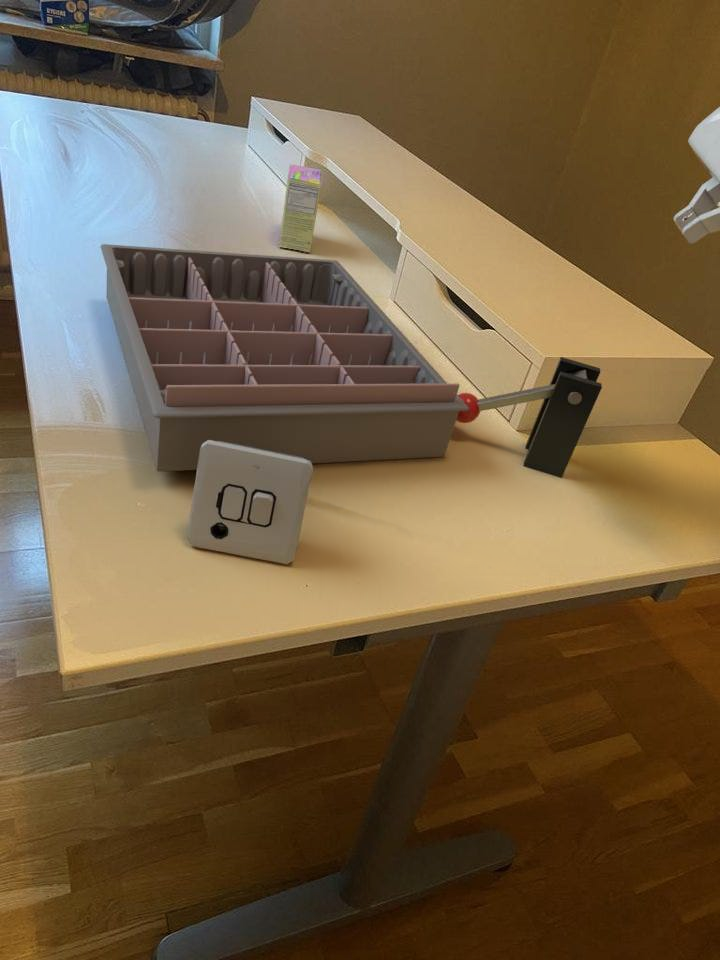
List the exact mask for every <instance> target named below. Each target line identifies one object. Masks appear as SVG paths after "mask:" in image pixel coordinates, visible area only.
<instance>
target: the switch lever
mask: <svg viewBox="0 0 720 960" xmlns="http://www.w3.org/2000/svg"><path fill="white" fill-rule="evenodd" d="M568 374H571V375H574V376H578V377H581V378H585V379H588V378H587V373H586V370H582V371H577V372H572V373H568ZM554 386H555V384H553V385H550V384H548V385H544V386H538V387H533V388H528V389H524V390H519V391H513V392H509V393H508V392H507V393H504V394H499V395H493V396H489V397H484V398H479V399H478V397H477V396H476V395H474V394H473V393H470V392H461V393H458V394H457V395H458V396H459V397H460V398H461V399H462V400H463V402H464V403H465V404H466V405H467V406H468V407H469V410H468V411H459V414H458V417H457V420H456V422H458V423H462V424H470V423H472V422H474V421H476V420H477V419H478V417H479V416H480V413H481V412H483V411H488V410H489V411H490V410H493V409H499V408H504V407H509V406H514V405H519V404H523V403H528V402H534V401H539V400H544V399H545V398H550V396H551V393H552V391H553V389H554Z"/></svg>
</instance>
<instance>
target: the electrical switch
mask: <svg viewBox="0 0 720 960" xmlns="http://www.w3.org/2000/svg"><path fill="white" fill-rule="evenodd" d="M313 473H314V466H313V463H311V461H309V460H306V459H304V458H303V457H298V456H293V455H288V454H283V453H278V452H273V451H268V450H263V449H258V448H253V447H248V446H243V445H238V444H233V443H228V442H223V441H219V440H218V441H212V440H208V441H206V442H204V443H203V444H202V446H201V448H200V453H199V460H198V466H197V470H196V473H195V478H194V479H195V480H194V486H193V492H192V493H193V494H192V500H191V507H190V513H189V521H188V526H187V527H188V528H187V532H186V541H187V543H188V544H189V545H190V546H191V547H195V548H198V549H199V548H200V549H203V550H204V549H206V550H211V551H215V552H219V553H220V552H221V553H227V554H231V555H237V556H242V557H248V558H252V559H258V560H264V561H269V562H274V563H279V564H285V565H287V564H290V563H292V562H293V561H294V560H295V558H296V554H297V552H298V545H299V541H300V534H301V531H302V525H303V521H304V516H305V515H304V514H305V509H306V504H307V499H308V494H309V489H310V485H311V481H312V477H313Z"/></svg>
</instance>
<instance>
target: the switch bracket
mask: <svg viewBox="0 0 720 960" xmlns="http://www.w3.org/2000/svg"><path fill="white" fill-rule="evenodd" d="M582 370H586V373H587V378H588V379H585V378H581V377H578V376H574V375H571V374H568V373H572V372H577V371H582ZM600 374H601V368H600V367H598V366H593V365H590V364H588V363H584V362H580V361H576V360H573V359H569V358H566V357H563V356H561V357H560V358H559V360H558V363H557V365H556V368H555V369H554V373H553V375H552V377H551V380H550V382H549V385H553V384H555V386H554V389H553V391H552V393H551V396H550V398H545V399H542V402H541V405H540V408H539V410H538V413H537V415H536V418H535V421H534V423H533V425H532V428H531V430H530V433H529V436H528V438H527V440H526V443H525V446H524V447H525V448H524V449H525V450H527V453H526V456H525V458H524V460H523V467H525V468H527V469H531V470H534V471H538V472H541V473H544V474H547V475H551V476H554V477H557V478H561V479H562V478H563V476H564V474H565V471H566V469H567V467H568V465H569V462H570V460H571V458H572V455H573V454H574V451H575V449H576V447H577V445H578V442H579V440H580V437H581V436H582V433H583V431H584V429H585V427H586V425H587V422H588V420H589V418H590V416H591V413H592V411H593V408H594V406H595V404H596V402H597V399H598V397H599V395H600V393H601V391H602V390H603V389H602V388H603V384H602V383H601V382H599V381H598V379H599V376H600Z"/></svg>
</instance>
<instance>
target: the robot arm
mask: <svg viewBox="0 0 720 960" xmlns="http://www.w3.org/2000/svg"><path fill="white" fill-rule="evenodd" d="M687 142H688V145H689V146H690V148H691V150H692V152H693V153H694V154H695V156H696V158H697V159H698V160H699V162H700V163H701V164H702V165H703V167H704V168H705V170H706V171H707V172H708V174H710V176H711V178H710V179H708V180H707V181H706V182H704V183H702V184H701V186H700V187H699V188H698V190H697V191H696V193H695V195H694V196H693V198H692V199H691V201H690V202H689V203H688V205H687V206H686V207H684V208H682V209H681V210H679V212H677V213H676V214H675V215H674V216H673V221H674V223H675V225H676V226H677V228H678V229H679V231H680V232H681V234H682V235H683V237H684V238H685V240H686V241H687V242H688V243H689V244H695V243H696V242H698V241H699V240H701V239H702V238H704V237H706V235H708V234H713V233H717V232H720V106H719V107H718V108H716V109H714V111H712V112H711V113H710V114H709V115H708V116H706V117H705V118H704V119H703V120H701V122H700V123H698V124H697V125H696V126H695V128H694V130H692V133H691V134H690V136H689V138H688V140H687ZM715 205H716V208H715V209H713V208H714V206H715Z"/></svg>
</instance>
